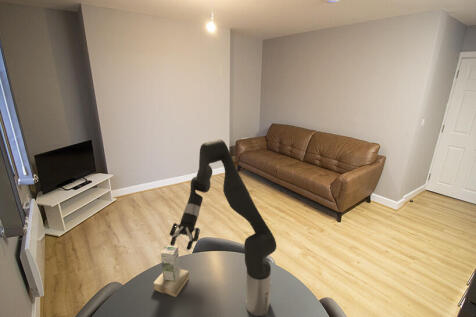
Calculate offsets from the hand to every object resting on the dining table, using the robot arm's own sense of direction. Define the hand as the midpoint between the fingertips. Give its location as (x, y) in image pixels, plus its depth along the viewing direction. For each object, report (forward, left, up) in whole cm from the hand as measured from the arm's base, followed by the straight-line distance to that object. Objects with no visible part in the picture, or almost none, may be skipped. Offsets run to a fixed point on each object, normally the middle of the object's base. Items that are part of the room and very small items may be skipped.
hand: (179, 247), depth 108 cm
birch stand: (0, +8, -13) cm, 16 cm away
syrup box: (0, +8, -10) cm, 12 cm away
